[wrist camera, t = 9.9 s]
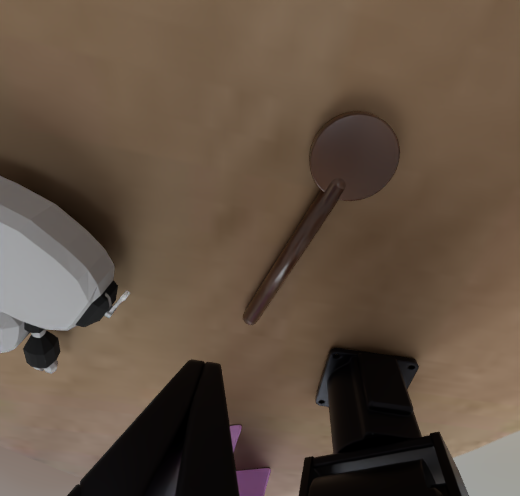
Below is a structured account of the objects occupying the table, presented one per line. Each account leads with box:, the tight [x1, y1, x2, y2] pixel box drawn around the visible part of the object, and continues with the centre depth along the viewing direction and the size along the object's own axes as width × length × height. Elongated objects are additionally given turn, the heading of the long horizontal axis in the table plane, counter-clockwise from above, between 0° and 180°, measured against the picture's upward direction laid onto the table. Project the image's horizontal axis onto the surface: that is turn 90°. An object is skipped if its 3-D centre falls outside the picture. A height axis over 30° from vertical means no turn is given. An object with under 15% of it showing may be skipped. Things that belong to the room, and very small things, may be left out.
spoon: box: [243, 111, 400, 325], centre depth 19 cm, size 15×4×1 cm, turn 154°
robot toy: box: [0, 176, 130, 373], centre depth 21 cm, size 12×4×15 cm
